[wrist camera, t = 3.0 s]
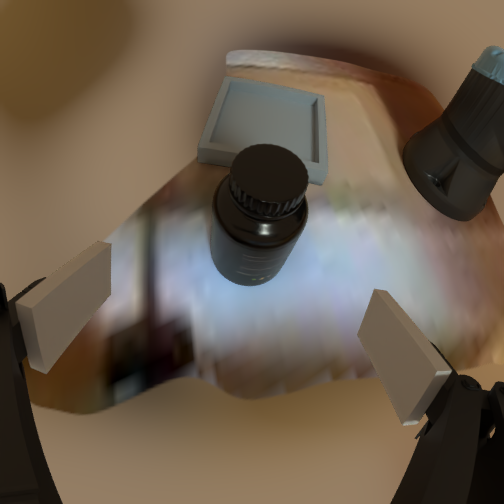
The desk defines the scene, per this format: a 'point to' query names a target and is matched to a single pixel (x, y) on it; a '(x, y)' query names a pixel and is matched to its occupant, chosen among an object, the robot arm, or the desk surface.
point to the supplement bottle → (258, 214)
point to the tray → (266, 124)
